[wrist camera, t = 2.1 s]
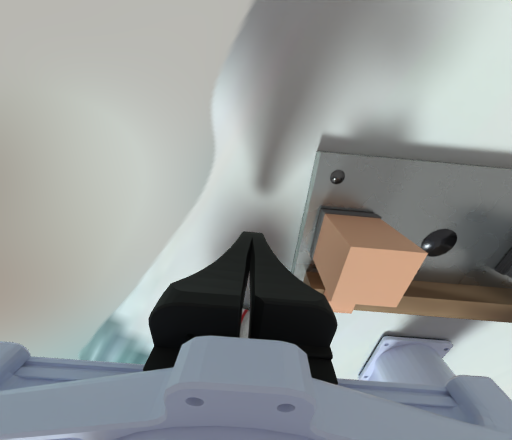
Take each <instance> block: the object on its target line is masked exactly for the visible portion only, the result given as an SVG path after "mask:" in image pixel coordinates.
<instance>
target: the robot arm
mask: <svg viewBox="0 0 512 440" xmlns="http://www.w3.org/2000/svg"><path fill="white" fill-rule="evenodd" d="M249 274H250V317H249V333H248V338H240V329H241V319H242V309H243V301H244V296H245V291H246V286H247V280H248V275H249ZM149 327H150V331H151V335H152V339H153V343H154V348H153V350H152V352H151V354H150V356H149V358H148V360H147V362H146V364H145V365H142V364H128V363H114V362H101V361H87V360H73V359H58V358H45V357H31V356H30V353H29V351H28V350H27V348H26V347H24V346H23V345H21V344H18V343H14V342H2V341H0V440H512V400H511V399H510V398H509V397H508V396H507V395H506V394H505V393H504V392H503V391H502V390H501V389H500V387H499V386H498V385H497V384H496V383H495V382H494V381H493V380H492V379H491V378H489V377H482V376H468V375H458V376H456V375H455V374H454V373H453V372H452V370H451V369H450V368H449V367H448V365H447V364H446V363H445V362H444V360H443V359H442V358H443V357H444V356H445V355H446V353H447V352H448V351H449V350H450V349H451V348H452V347H453V345H452V343H451V342H450V341H443V340H430V339H418V338H405V337H393V336H385V337H383V338H382V340H381V341H380V343H379V345H378V346H377V348H376V349H375V351H374V353H373V354H372V356H371V358H370V359H369V361H368V363H367V364H366V366H365V368H364V369H363V371H362V373H361V374H360V376H359V378H358V379H359V380H351V379H337V378H336V375H335V371H334V368H333V365H332V362H331V359H332V358H333V355H332V352H331V348H330V344H331V342H332V339H333V337H334V335H335V332H336V329H337V320H336V317H335V315H334V312H333V310H332V308H331V306H330V304H329V302H328V300H327V299H326V297H325V295H323V294H322V293H320V292H318V291H316V290H315V289H313V288H311V287H310V286H308V285H307V284H305V283H304V282H302V281H301V280H300V279H298V278H297V277H296V276H295V275H293V274H292V273H291V272H290V271H289V270H288V269H287V268H286V267H285V266H284V265H283V264H282V263H281V262H280V261H279V260H278V258H277V257H276V256H275V255H274V253H273V252H272V250H271V249H270V247H269V245H268V244H267V242H266V240H265V238H264V235H263V234H262V233H254V232H242V233H241V235H240V237H239V238H238V239H237V241H236V242H235V243H234V244H233V245H232V247H231V248H230V249H229V250H228V251H227V252H226V253H225V254H224V255H222V256H221V257H220V258H219V259H218V260H216V261H215V262H214V263H212V264H211V265H209V266H208V267H206V268H204V269H203V270H201V271H199V272H197V273H195V274H193V275H191V276H189V277H186V278H184V279H181V280H179V281H176V282H174V283H171V284H170V285H169V287H168V288H167V289H166V291H165V292H164V293H163V295H162V296H161V297H160V299H159V301H158V302H157V304H156V306H155V307H154V309H153V311H152V312H151V314H150V317H149Z"/></svg>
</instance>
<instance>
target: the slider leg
mask: <svg viewBox="0 0 512 440" xmlns="http://www.w3.org/2000/svg"><path fill="white" fill-rule="evenodd" d="M381 218H382V217H381V216H379V215H378V214H372V213H361V212H350V211H338V210H327V209H321V212H320V216H319V220H318V224H317V228H316V232H315V236H314V240H313V244H312V248H311V252H310V257H311V260H314V263H315V265H316V268H317V270H318V272H319V275H320V277H321V280H322V282H323V285H324V287H325V292H324V295H325V297H326V299H327V300H328V302H329V304H330V306H331V308H332V310H333V312H339V313H352V311H353V309H354V307H355V305H356V304H359V305H371V306H384V307H397V305H398V304H399V302H400V300H401V298H402V297H403V295H404V293H405V292H406V290H407V288H408V287H409V285H410V283H411V282H412V280H413V278H414V276H415V275H416V273H417V271H418V270H419V268H420V266H421V265H422V263H423V261H424V260H425V258H426V256H427V254H428V253H427V252H426V251H424V250H423V249H422V248H420V247H419V246H417V245H416V244H415V243H413V242H412V241H411V240H409V239H408V238H406V237H405V236H404V235H402V234H401V233H399V232H398V231H397V230H395V229H394V228H393V227H391V226H390V225H388V224H387V223H386V222H384V221H383V220H381Z"/></svg>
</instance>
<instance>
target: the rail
mask: <svg viewBox="0 0 512 440" xmlns="http://www.w3.org/2000/svg"><path fill="white" fill-rule="evenodd" d="M303 282H304V283H305V284H307V285H308V286H310V287H311V288H313V289H315V290H316V291H318V292H320V293H322V294H323V295H324V292H325V287H324V285H323V282H322V280H321V277H320V275H319V273H318V272H306V273H305V277H304V281H303ZM353 310H360V311H373V312H385V313H398V314H410V315H422V316H435V317H447V318H459V319H472V320H484V321H497V322H509V323H512V289H510V288H498V287H486V286H474V285H462V284H450V283H438V282H426V281H414V280H412V282H411V283H410V285H409V287H408V288H407V290H406V292H405V293H404V295H403V297H402V298H401V300H400V302H399V304H398V305H397V307H384V306H371V305H359V304H356V305H355V307H354V309H353Z"/></svg>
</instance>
